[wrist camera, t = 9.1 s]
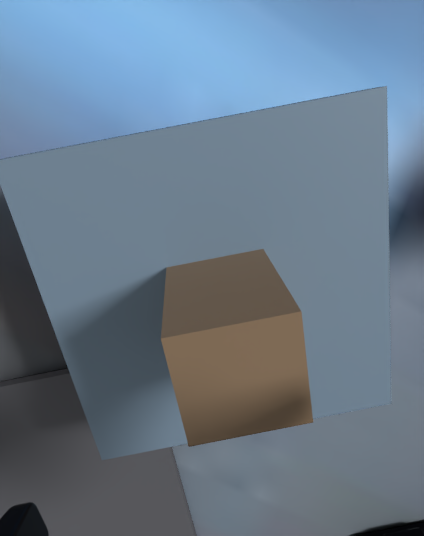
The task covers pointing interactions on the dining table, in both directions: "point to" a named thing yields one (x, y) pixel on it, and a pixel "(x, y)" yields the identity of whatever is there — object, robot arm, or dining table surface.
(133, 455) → the mat
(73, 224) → the cover
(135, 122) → the dining table surface
